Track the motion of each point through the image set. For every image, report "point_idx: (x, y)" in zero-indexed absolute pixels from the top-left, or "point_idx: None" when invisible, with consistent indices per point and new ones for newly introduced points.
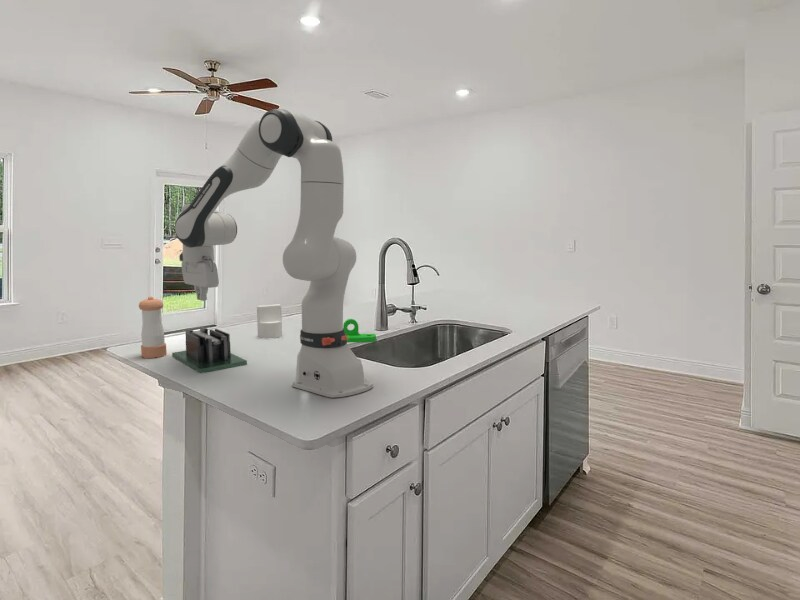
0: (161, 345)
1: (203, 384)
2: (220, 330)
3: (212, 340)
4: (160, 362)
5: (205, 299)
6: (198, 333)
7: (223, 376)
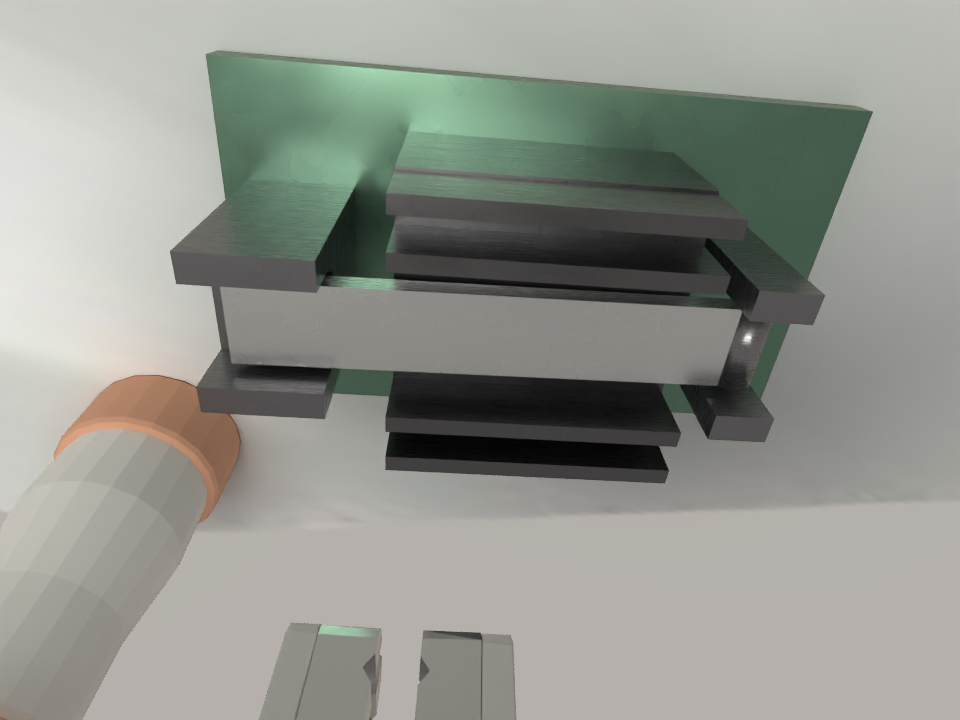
0: (193, 460)
1: (915, 460)
2: (507, 204)
3: (678, 356)
4: (364, 459)
5: (510, 656)
6: (338, 338)
7: (911, 347)
